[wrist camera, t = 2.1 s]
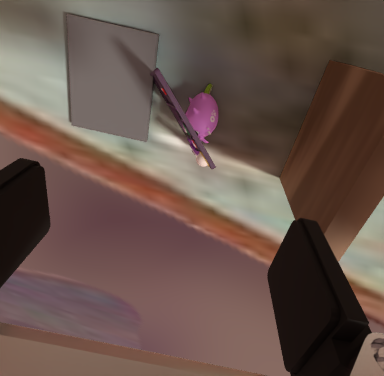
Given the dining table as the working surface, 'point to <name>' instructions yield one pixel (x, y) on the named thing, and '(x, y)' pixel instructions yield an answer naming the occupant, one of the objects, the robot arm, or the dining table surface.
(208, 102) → the pink radish toy
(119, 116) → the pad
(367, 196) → the screen
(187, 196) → the dining table surface
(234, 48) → the dining table surface
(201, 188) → the dining table surface
